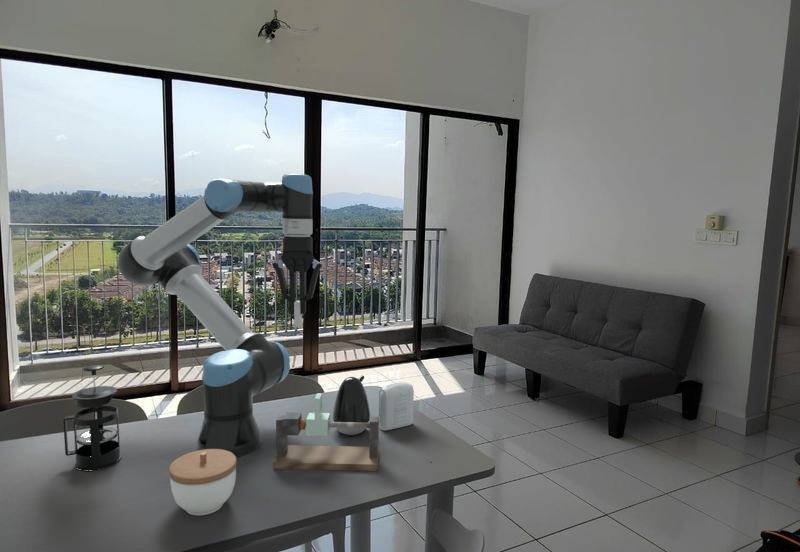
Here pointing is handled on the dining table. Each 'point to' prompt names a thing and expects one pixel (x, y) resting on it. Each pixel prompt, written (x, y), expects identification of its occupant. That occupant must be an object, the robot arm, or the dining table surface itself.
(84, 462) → the french press
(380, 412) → the photo printer
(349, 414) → the pump dispenser
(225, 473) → the lidded bowl
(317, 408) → the pale green block
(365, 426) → the rod stand
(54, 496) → the dining table surface
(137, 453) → the dining table surface
